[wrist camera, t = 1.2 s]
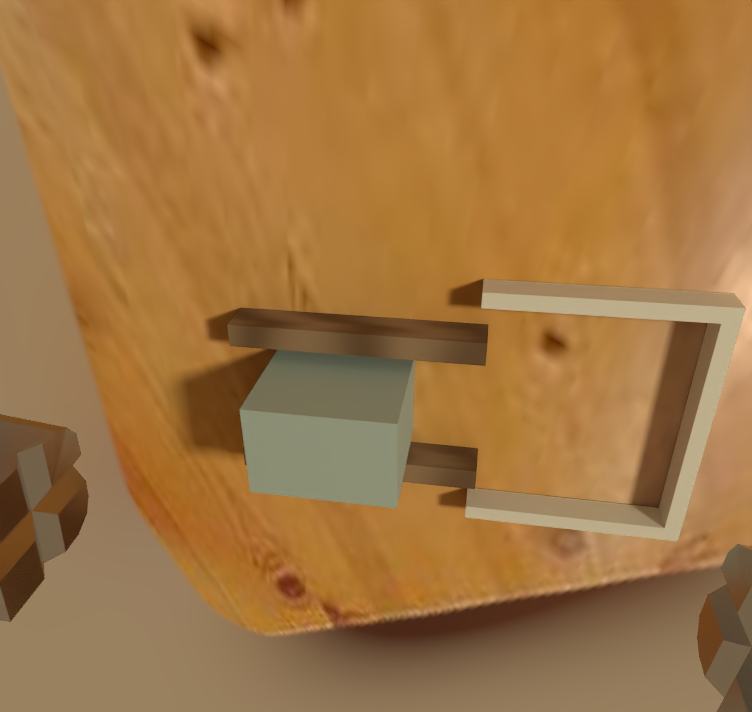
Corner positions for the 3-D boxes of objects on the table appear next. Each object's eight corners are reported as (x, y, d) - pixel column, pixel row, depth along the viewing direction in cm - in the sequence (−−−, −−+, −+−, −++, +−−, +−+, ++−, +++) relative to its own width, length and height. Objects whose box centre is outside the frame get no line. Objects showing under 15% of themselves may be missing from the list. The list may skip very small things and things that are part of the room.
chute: (257, 443, 48) (245, 465, 46) (240, 307, 43) (227, 324, 41) (476, 465, 46) (474, 489, 44) (488, 324, 40) (487, 343, 38)
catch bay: (466, 498, 47) (465, 517, 46) (483, 278, 39) (482, 292, 37) (670, 520, 45) (677, 541, 44) (734, 293, 37) (745, 308, 35)
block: (287, 417, 47) (250, 491, 40) (281, 343, 44) (239, 409, 37) (413, 429, 45) (396, 508, 39) (415, 353, 42) (397, 424, 36)
